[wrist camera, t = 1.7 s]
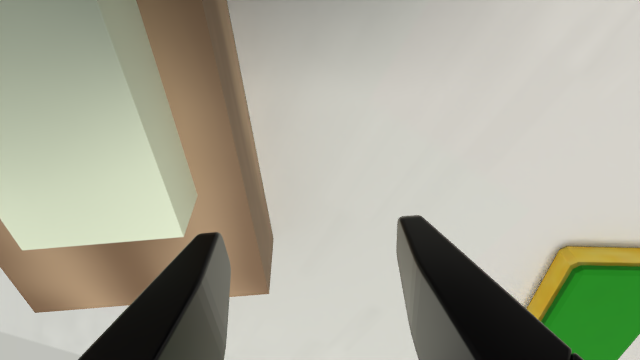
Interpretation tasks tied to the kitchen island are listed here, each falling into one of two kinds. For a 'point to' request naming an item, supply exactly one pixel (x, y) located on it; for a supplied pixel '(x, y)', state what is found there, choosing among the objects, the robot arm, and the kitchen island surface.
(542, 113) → the kitchen island surface
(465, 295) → the robot arm
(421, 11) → the kitchen island surface
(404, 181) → the kitchen island surface
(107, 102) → the sage tile
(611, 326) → the dish sponge
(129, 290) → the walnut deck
